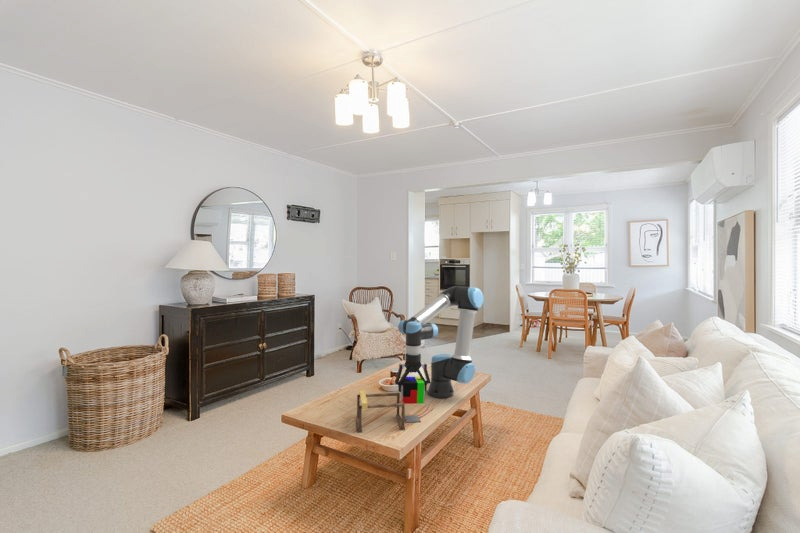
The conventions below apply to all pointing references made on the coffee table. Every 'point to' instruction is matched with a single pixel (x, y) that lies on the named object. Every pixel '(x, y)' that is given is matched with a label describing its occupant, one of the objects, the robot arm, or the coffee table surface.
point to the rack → (399, 419)
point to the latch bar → (363, 399)
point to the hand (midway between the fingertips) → (412, 397)
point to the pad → (412, 419)
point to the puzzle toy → (413, 390)
